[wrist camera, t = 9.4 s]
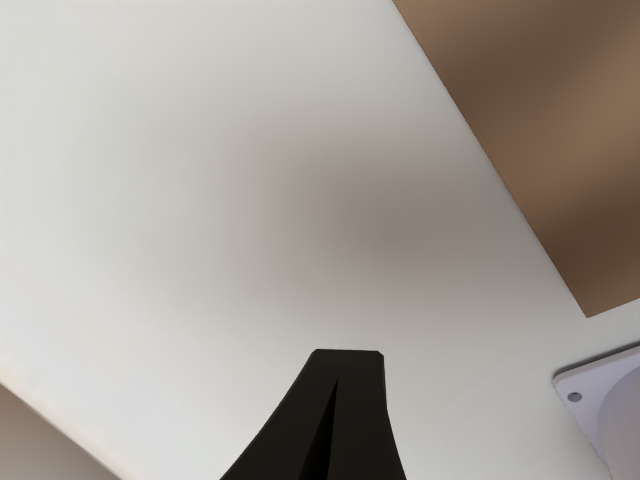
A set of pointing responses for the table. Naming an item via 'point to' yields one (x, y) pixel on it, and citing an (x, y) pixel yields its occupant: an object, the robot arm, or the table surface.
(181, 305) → the table surface
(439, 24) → the valve board
